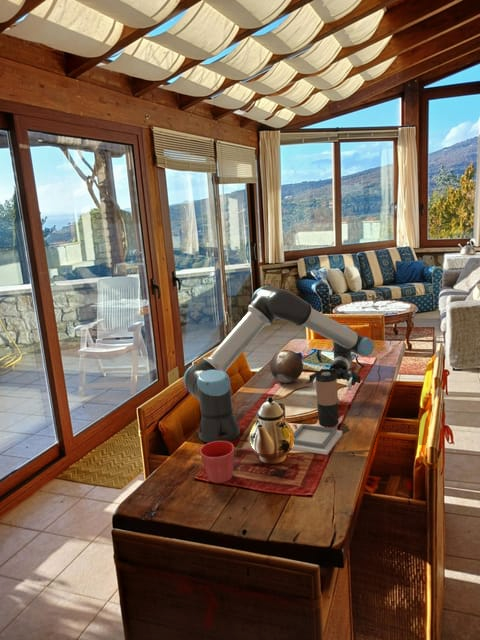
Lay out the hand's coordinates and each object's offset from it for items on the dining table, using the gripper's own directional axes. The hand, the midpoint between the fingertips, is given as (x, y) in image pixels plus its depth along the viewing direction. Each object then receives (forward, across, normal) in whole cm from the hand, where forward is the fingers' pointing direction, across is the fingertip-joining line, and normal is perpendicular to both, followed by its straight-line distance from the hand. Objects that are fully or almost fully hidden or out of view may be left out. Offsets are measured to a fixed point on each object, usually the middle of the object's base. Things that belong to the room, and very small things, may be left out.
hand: (331, 386), depth 198 cm
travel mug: (+10, 0, -11) cm, 15 cm away
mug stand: (+24, +3, -11) cm, 27 cm away
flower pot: (+52, +27, -11) cm, 60 cm away
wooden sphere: (-33, +26, -11) cm, 43 cm away
